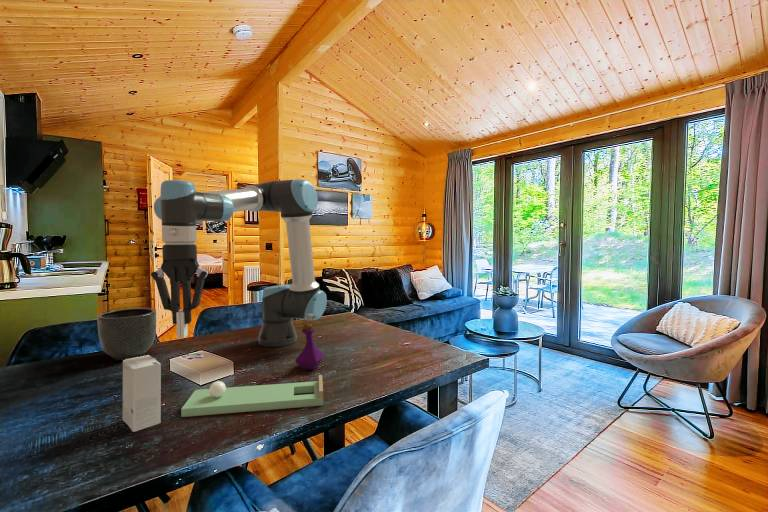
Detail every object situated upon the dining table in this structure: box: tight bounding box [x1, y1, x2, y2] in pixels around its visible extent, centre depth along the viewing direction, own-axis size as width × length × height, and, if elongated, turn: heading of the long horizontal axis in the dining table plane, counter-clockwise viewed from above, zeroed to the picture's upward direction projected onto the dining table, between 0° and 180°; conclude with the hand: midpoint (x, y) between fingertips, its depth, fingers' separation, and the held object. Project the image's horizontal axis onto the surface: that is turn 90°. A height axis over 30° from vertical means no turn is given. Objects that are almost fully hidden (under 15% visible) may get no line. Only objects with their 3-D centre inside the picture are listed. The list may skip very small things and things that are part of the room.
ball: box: [208, 380, 227, 397], centre depth 95 cm, size 4×4×4 cm
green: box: [180, 374, 324, 418], centre depth 97 cm, size 11×34×4 cm, turn 101°
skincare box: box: [122, 354, 162, 433], centre depth 86 cm, size 8×6×15 cm
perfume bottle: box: [295, 314, 325, 371], centre depth 121 cm, size 8×8×18 cm
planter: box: [96, 307, 158, 361], centre depth 131 cm, size 17×17×16 cm
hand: (182, 336), depth 93 cm, fingers closed
